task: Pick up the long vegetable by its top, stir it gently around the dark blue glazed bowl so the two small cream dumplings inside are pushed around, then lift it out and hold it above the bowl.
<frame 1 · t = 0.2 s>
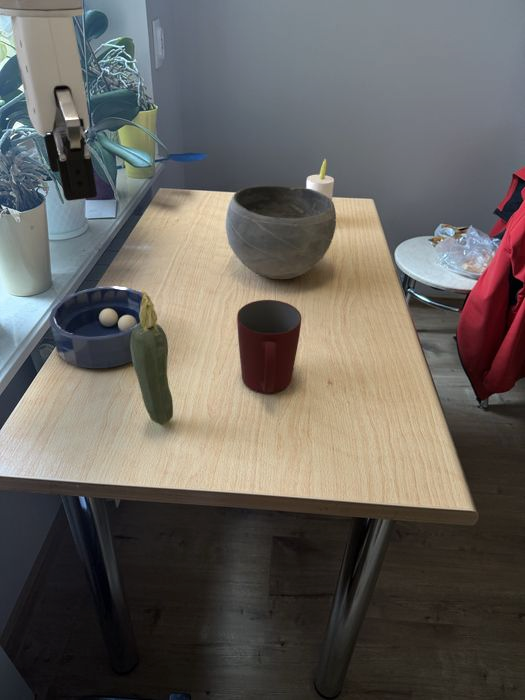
hand: (72, 183, 58), 30 cm above the table, tool pointing down, fingers open, 9 cm apart
mixing bowl: (108, 342, 86), on the table
candle: (316, 222, 129), on the table
vegetable: (159, 427, 71), on the table
dumpling b: (127, 324, 86), point 2 cm above the table, tilted 81°, touching mixing bowl
mug: (266, 386, 78), on the table
bowl: (278, 271, 108), on the table
dumpling a: (108, 317, 88), point 2 cm above the table, tilted 59°, touching mixing bowl
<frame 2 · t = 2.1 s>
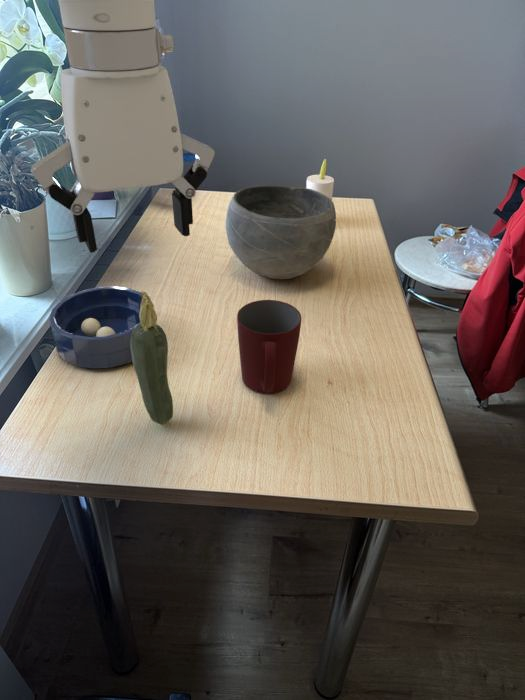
hand: (137, 238, 55), 27 cm above the table, tool pointing down, fingers open, 9 cm apart
dumpling b: (106, 336, 83), point 2 cm above the table, tilted 100°, touching mixing bowl
dumpling a: (90, 327, 85), point 2 cm above the table, tilted 78°, touching mixing bowl
everything else where it was.
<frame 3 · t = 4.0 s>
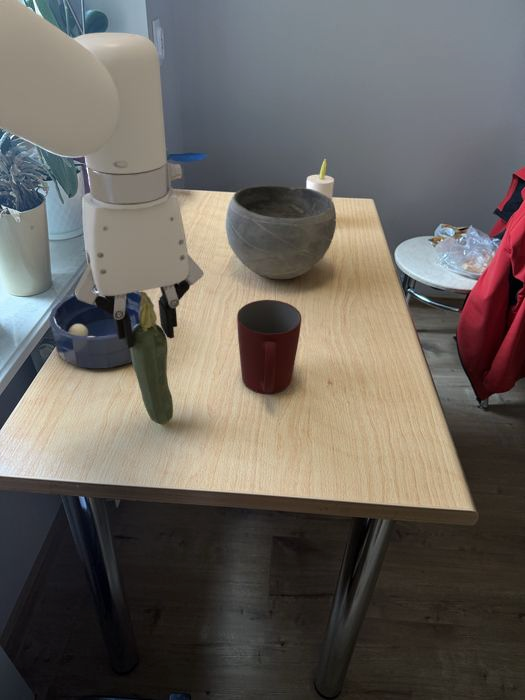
hand: (147, 335, 62), 15 cm above the table, tool pointing down, fingers closed on vegetable, 4 cm apart
vegetable: (159, 427, 71), on the table, touching gripper
dumpling b: (91, 345, 81), point 2 cm above the table, tilted 35°, touching mixing bowl
dumpling a: (78, 333, 84), point 2 cm above the table, tilted 128°, touching mixing bowl
everything else where it was.
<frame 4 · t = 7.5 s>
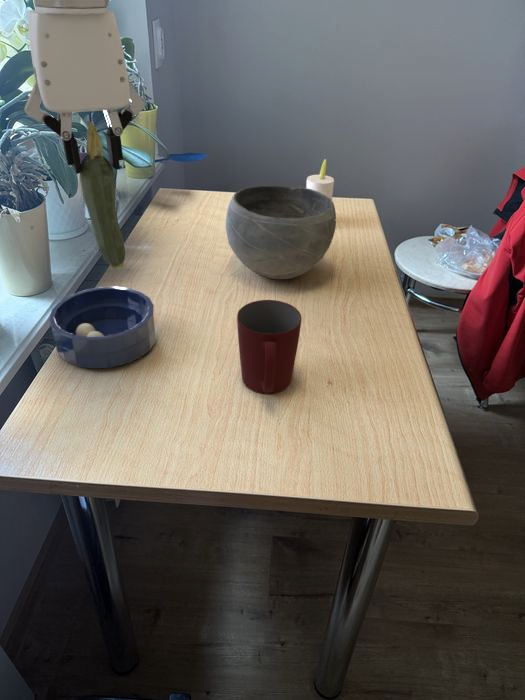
hand: (96, 166, 68), 29 cm above the table, tool pointing down, fingers closed on vegetable, 4 cm apart
vegetable: (113, 271, 76), point 14 cm above the table, touching gripper
dumpling b: (95, 340, 82), point 2 cm above the table, tilted 56°, touching mixing bowl
dumpling a: (85, 332, 84), point 2 cm above the table, tilted 128°, touching mixing bowl
everything else where it was.
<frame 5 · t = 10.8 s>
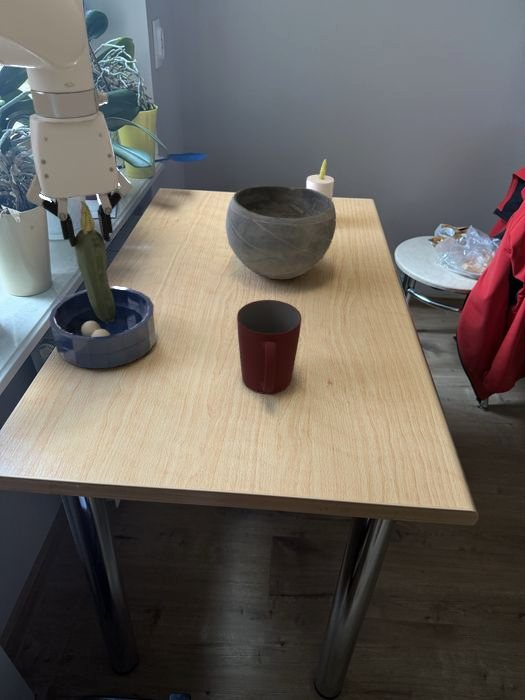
hand: (89, 239, 77), 17 cm above the table, tool pointing down, fingers closed on vegetable, 4 cm apart
vegetable: (104, 325, 85), point 2 cm above the table, touching gripper
dumpling b: (101, 338, 83), point 2 cm above the table, tilted 69°, touching mixing bowl
dumpling a: (91, 330, 85), point 2 cm above the table, tilted 96°, touching mixing bowl
everything else where it was.
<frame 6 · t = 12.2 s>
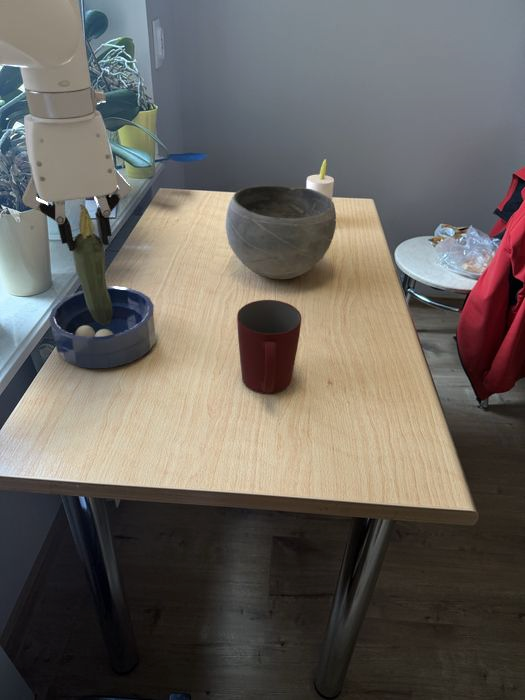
hand: (87, 242, 74), 18 cm above the table, tool pointing down, fingers closed on vegetable, 4 cm apart
vegetable: (101, 327, 84), point 3 cm above the table, touching dumpling b, gripper
dumpling b: (104, 338, 83), point 2 cm above the table, tilted 67°, touching mixing bowl, vegetable
dumpling a: (85, 334, 83), point 2 cm above the table, tilted 151°, touching mixing bowl
everything else where it was.
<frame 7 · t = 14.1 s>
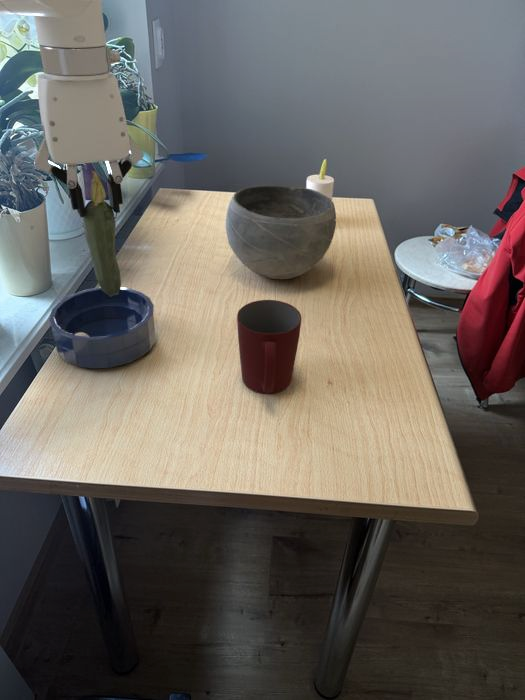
hand: (98, 210, 73), 22 cm above the table, tool pointing down, fingers closed on vegetable, 4 cm apart
vegetable: (108, 299, 83), point 7 cm above the table, touching gripper
dumpling b: (111, 345, 81), point 2 cm above the table, tilted 40°, touching mixing bowl
dumpling a: (81, 342, 82), point 2 cm above the table, tilted 133°, touching mixing bowl
everything else where it was.
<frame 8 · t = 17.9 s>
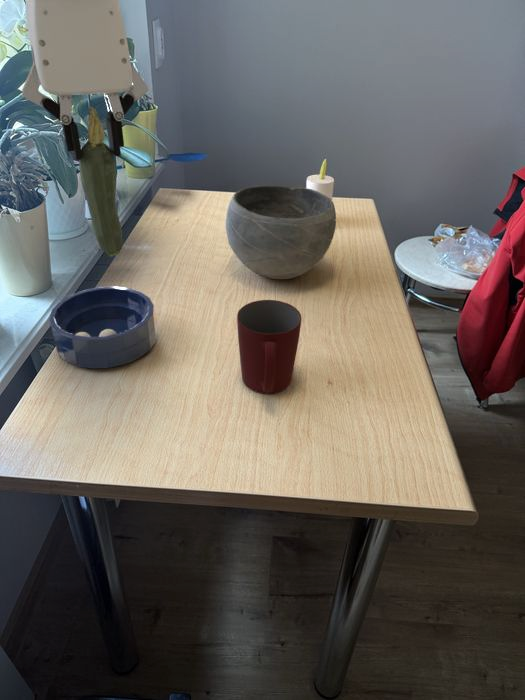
hand: (96, 153, 65), 31 cm above the table, tool pointing down, fingers closed on vegetable, 4 cm apart
vegetable: (109, 259, 75), point 16 cm above the table, touching gripper
dumpling b: (108, 338, 83), point 2 cm above the table, tilted 66°, touching mixing bowl
everything else where it was.
at the end: dumpling a moved 7.2 cm from its start; dumpling a inside the target area in the mixing bowl (4.3 cm from its centre), point 2.3 cm above the mixing bowl's base; the gripper is holding vegetable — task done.
